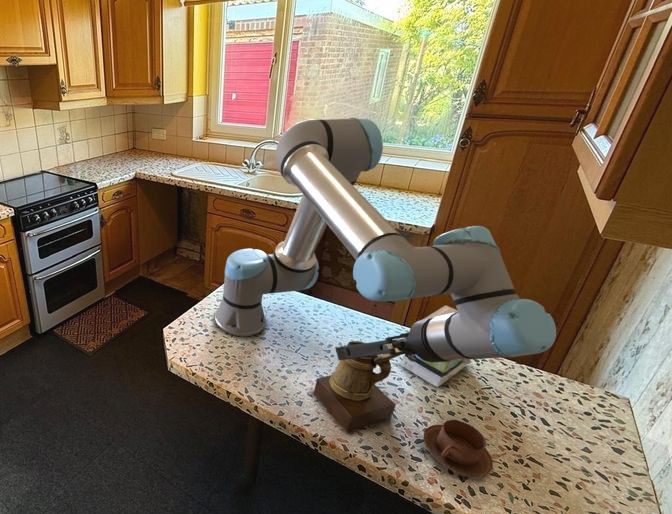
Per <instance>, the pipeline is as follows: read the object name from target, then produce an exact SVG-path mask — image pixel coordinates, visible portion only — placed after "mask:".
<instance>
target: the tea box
mask: <svg viewBox="0 0 672 514" xmlns="http://www.w3.org/2000/svg"><path fill="white" fill-rule="evenodd" d="M455 312H458V310H457V309H456V308H453V307H451V306H449V305H444V306H442V307H441V308H439V309H438V310H436V311H434V312H432V313H431V314H429V315H428V316H426V317H424V318H423V319H421V320H424V319H429V318H434V317H437V316H441V315H446V314H450V313H455ZM400 366H401V367H403V368H405V369H406V370H407V371H409V372H411V373H412V374H415V375H416V376H417V377H419V378H421V379H423V380H424V381H426V382H428V384H431V385H433V386H434V387H436V388H438V387H440V386H441V385H443V384H444V383H445V382H447V381H448V380H450V379H451V378H452V377H453V376H454V375H456V374H457V373H459V372H460V371H461V370H463V369H464V368H465V367H466V366H467V364H465V363H464V362H463V360H457V361H449V362H436V363H432V362H427V361H425V360H423V359H421V358H420V357H419V356H417V355H416V354H413V355H406V354H404V355H403V358H402V361H401V363H400Z"/></svg>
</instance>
